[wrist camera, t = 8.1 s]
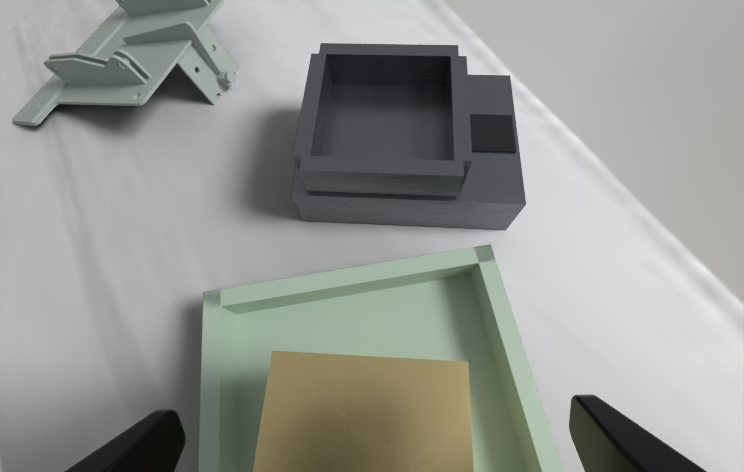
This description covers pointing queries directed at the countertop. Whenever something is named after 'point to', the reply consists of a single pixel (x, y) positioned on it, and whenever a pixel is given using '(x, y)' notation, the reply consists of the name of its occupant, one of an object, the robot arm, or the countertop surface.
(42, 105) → the metal bracket
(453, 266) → the parts tray
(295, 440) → the tan note paper block
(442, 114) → the dark grey stepped fixture
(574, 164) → the countertop surface
